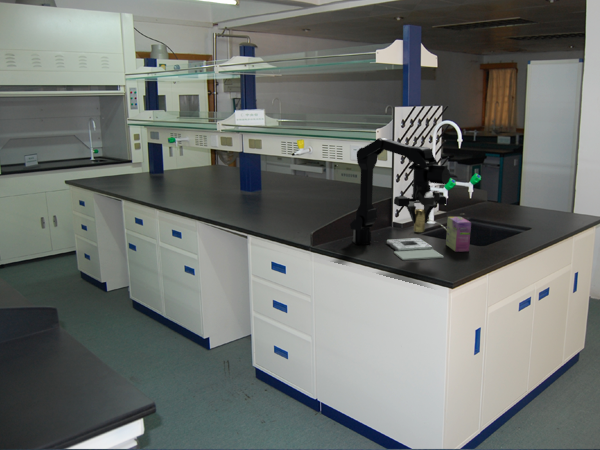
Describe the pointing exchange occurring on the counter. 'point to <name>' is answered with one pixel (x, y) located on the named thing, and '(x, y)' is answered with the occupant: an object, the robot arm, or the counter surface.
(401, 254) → the mat
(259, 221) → the counter surface
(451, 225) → the box
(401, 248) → the white marble square slab
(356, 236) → the robot arm
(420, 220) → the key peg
